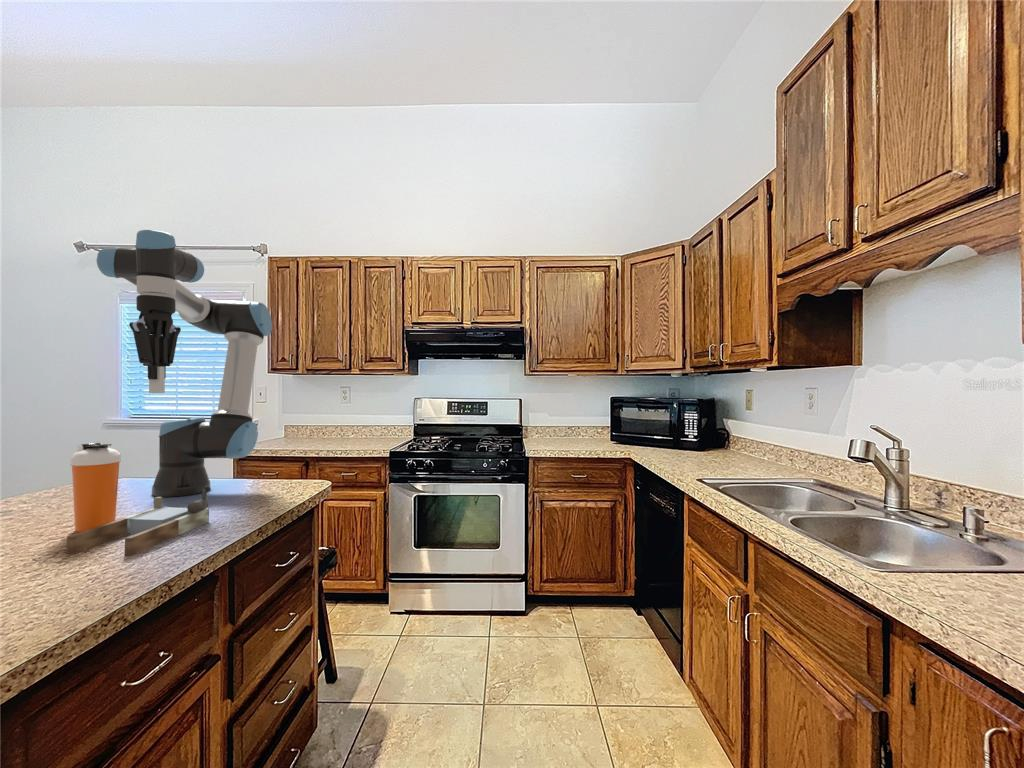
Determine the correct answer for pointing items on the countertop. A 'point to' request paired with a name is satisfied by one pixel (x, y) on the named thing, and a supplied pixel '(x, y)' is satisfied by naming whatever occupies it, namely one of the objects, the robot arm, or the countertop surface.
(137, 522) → the pale blue flat block
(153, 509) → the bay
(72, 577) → the countertop surface
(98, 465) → the shaker bottle
